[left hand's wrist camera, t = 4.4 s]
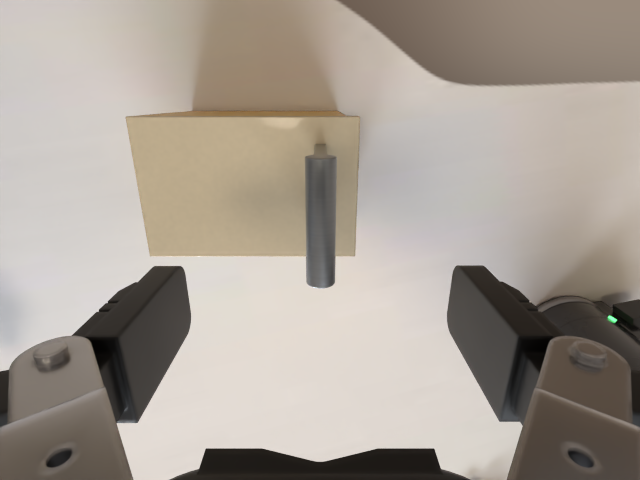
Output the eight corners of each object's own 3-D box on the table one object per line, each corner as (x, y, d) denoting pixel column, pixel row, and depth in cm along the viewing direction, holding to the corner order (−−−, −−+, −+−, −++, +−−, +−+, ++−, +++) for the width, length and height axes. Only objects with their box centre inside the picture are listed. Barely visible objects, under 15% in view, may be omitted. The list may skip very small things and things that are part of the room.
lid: (358, 115, 23) (378, 124, 15) (353, 250, 26) (368, 314, 18) (134, 115, 23) (38, 123, 15) (157, 250, 26) (87, 314, 18)
